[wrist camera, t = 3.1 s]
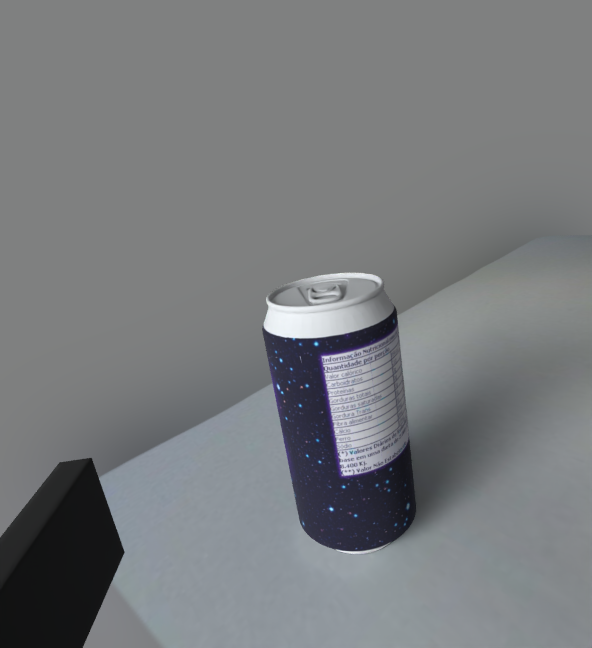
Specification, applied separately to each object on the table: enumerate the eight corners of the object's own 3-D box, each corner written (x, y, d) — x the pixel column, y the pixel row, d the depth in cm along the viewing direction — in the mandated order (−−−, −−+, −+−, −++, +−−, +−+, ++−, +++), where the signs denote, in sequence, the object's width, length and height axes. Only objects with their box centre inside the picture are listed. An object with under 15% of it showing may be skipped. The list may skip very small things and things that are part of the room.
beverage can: (404, 478, 26) (381, 263, 22) (431, 559, 21) (407, 295, 17) (301, 491, 27) (261, 282, 23) (302, 574, 21) (250, 319, 17)
